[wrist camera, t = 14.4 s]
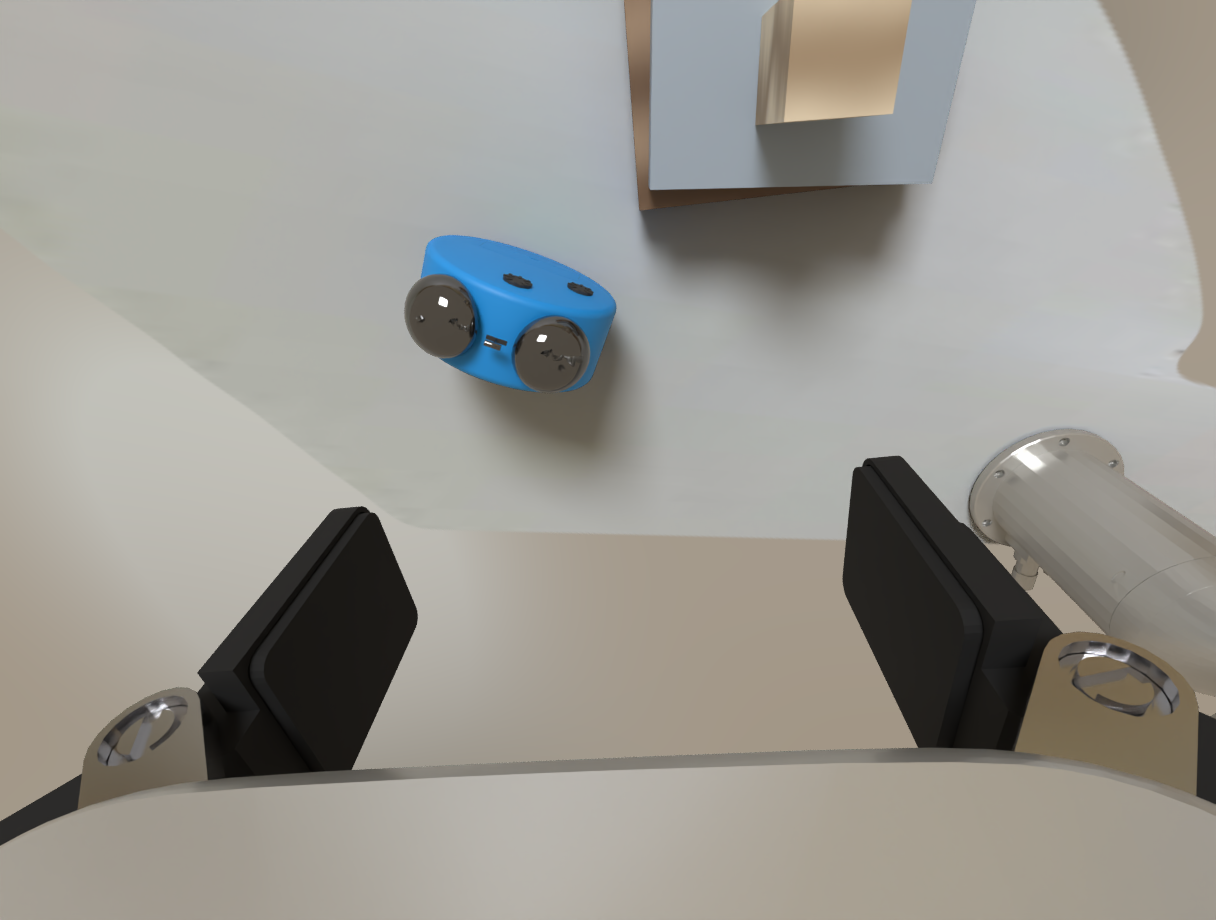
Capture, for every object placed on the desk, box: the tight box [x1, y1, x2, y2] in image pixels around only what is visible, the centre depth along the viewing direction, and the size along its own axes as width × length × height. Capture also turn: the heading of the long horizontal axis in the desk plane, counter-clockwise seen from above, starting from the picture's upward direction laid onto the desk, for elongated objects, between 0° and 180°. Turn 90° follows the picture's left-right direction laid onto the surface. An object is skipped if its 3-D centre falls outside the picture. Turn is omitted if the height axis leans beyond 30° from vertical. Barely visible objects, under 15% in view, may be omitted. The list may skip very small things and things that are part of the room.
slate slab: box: [648, 0, 976, 190], centre depth 32 cm, size 12×17×4 cm
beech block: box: [755, 0, 912, 125], centre depth 27 cm, size 5×5×7 cm
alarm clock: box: [404, 235, 616, 393], centre depth 38 cm, size 13×6×15 cm, turn 70°
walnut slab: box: [624, 0, 859, 211], centre depth 35 cm, size 14×19×4 cm
